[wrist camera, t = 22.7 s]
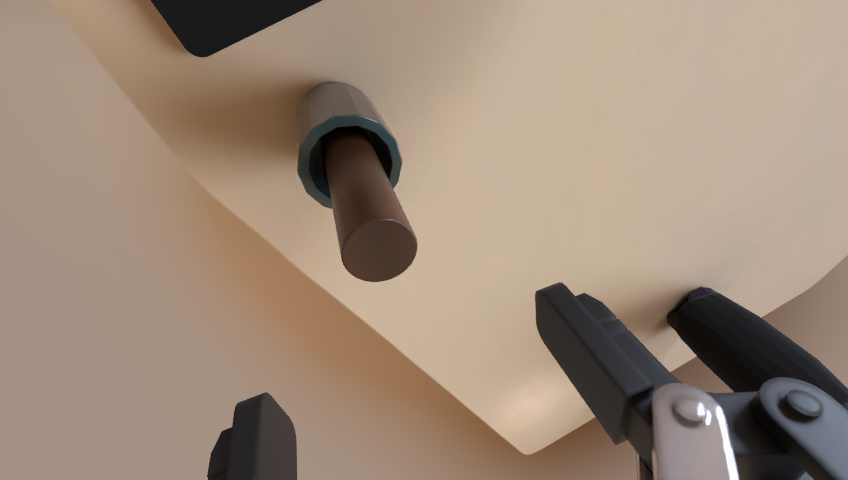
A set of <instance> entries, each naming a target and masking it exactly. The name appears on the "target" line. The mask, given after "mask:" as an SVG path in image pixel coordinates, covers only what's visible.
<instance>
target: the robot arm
mask: <svg viewBox="0 0 848 480" xmlns="http://www.w3.org/2000/svg"><path fill="white" fill-rule="evenodd" d="M535 302H536V325H537V329H538V332H539V334H540V336H541V338H542V340H543V342H544V344H545V345H546V346H547V348H548V349H549V351H550V352H551V354H552V355H553V356H554V358H555V359H556V361H557V362H558V364H559V365H560V366H561V368H562V369H563V371H564V372H565V374H566V375H567V376H568V378H569V379H570V381H571V382H572V384H573V385H574V386H575V388H576V389H577V391H578V392H579V394H580V395H581V396H582V398H583V399H584V401H585V402H586V404H587V405H588V406H589V408H590V409H591V411H592V412H593V414H594V415H595V416H596V418H597V419H598V421H599V422H600V423H601V425H602V426H603V428H604V429H605V431H606V432H607V434H608V435H609V436H610V438H611V439H612V441H613V442H614V444H615V445H617V444H619V443H622V442H624V441H626V440H628V441H629V442H630V443H631V445H632V446H633V447H634V449H635V450H636V466H637V480H848V410H847V409H845V408H844V407H843V406H842V405H841V404H839V403H838V402H837V401H836V400H835V399H833V398H832V397H831V396H830V395H828V394H827V393H826V392H824V391H823V390H821V389H819V388H818V387H816V386H814V385H812V384H810V383H807V382H805V381H802V380H798V379H794V378H788V377H777V378H772V379H769V380H767V381H766V382H765V383H763V385H762V386H761V388H760V389H759V391H755V392H735V393H709V392H704V391H703V390H701V389H699V388H697V387H694V386H691V385H688V384H684V383H682V382H681V381H679V380H678V379H677V378H675V377H674V376H673V375H672V374H671V373H670V372H669V371H668V370H667V369H666V368H665V367H664V366H663V365H662V364H661V363H660V362H659V361H658V360H657V359H656V358H655V357H654V356H653V355H652V354H651V352H650V351H649V350H648V349H647V348H646V347H645V346H644V345H643V344H642V343H641V342H640V341H639V340H638V339H637V338H636V337H635V336H634V335H633V334H632V333H631V332H630V331H628V330H627V328H626V327H625V326H624V325H623V323H622V322H621V321H620V320H619V319H616V316H615V315H614V314H613V313H612V312H611V311H610V310H609V309H608V308H607V307H606V306H605V305H604V304H603V303H602V302H600V301H598V300H597V299H595V298H593V297H591V296H589V295H587V294H585V293H583V294H580V295H578V296H574V295H573V293H572V292H571V291H570V290H569V289H568V288H567V287H566V286H565V285H564V284H563V283H560V282H559V283H556V284H554V285H551V286H548V287H546V288H543V289H540V290H538V291H536V293H535ZM296 451H297V450H296V434H295V430H294V426H293V423H292V421H291V419H290V418H289V416H288V415H287V414H286V413H285V412H284V410H283V409H282V408H281V407H280V406H279V405H278V403H277V402H276V401H275V400H274V399H273V397H272V396H271V395H270V394H269V393H263V394H260V395H257V396H255V397H252V398H250V399H247V400H244V401H242V402H239V403H238V404H237V405H236V407H235V411H234V418H233V427H232V428H229V429H226V430H224V431H222V432H221V434H220V437H219V438H218V441H217V443H216V445H215V447H214V449H213V451H212V453H211V458H210V463H209V469H208V475H207V477H208V480H297V455H296V454H297V452H296Z"/></svg>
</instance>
